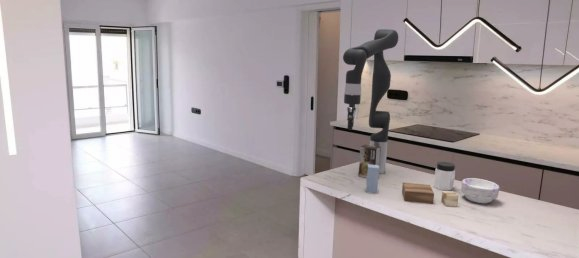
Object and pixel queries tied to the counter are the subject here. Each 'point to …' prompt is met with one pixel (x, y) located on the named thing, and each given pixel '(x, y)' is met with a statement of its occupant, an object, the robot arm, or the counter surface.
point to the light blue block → (372, 178)
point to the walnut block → (417, 193)
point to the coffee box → (368, 158)
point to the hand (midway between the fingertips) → (350, 128)
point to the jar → (444, 176)
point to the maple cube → (449, 198)
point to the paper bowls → (479, 190)
